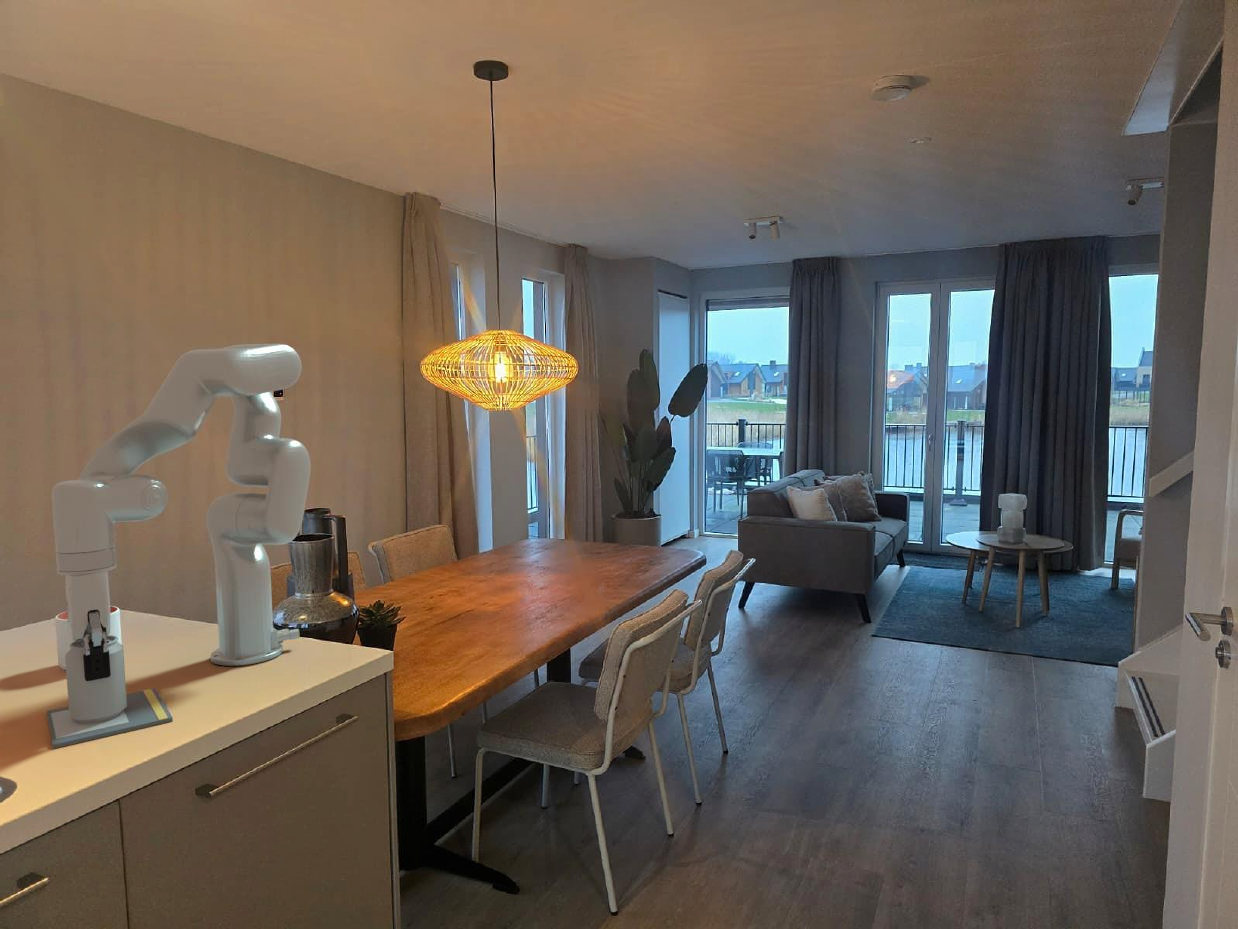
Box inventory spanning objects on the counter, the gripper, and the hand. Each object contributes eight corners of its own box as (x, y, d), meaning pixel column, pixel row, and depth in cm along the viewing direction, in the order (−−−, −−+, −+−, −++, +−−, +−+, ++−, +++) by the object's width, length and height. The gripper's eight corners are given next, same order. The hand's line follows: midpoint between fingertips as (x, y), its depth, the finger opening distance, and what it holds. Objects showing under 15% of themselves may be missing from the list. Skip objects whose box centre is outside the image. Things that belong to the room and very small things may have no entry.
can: (137, 712, 123) (132, 637, 122) (84, 729, 117) (79, 650, 116) (112, 703, 127) (107, 630, 126) (60, 719, 121) (54, 642, 120)
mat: (155, 691, 134) (155, 687, 134) (172, 721, 122) (172, 716, 121) (46, 714, 125) (46, 710, 125) (53, 748, 112) (52, 744, 112)
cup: (49, 676, 142) (45, 622, 141) (70, 659, 152) (67, 608, 151) (112, 670, 145) (109, 617, 144) (129, 653, 154) (126, 603, 154)
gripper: (52, 555, 124) (60, 661, 126) (60, 574, 111) (69, 692, 112) (109, 549, 129) (115, 651, 131) (123, 566, 116) (130, 680, 117)
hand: (94, 670), depth 122 cm, fingers open, 9 cm apart
